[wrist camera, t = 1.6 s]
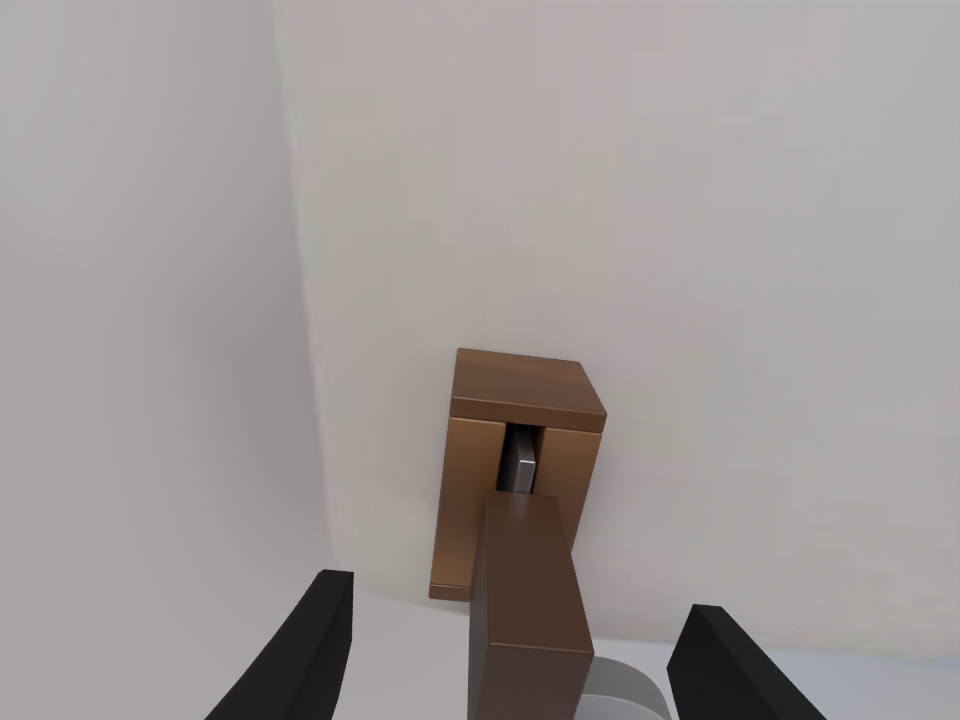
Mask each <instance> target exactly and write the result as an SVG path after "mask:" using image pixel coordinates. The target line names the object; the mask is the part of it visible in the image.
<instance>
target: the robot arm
mask: <svg viewBox="0 0 960 720" xmlns="http://www.w3.org/2000/svg"><path fill="white" fill-rule="evenodd" d="M353 580H354V572H347V571H336V570H326V569H324V570H322V571H321V572H319V573H318V574H317V576H316V578H315V579H314V581H313V582H312V584H311V585H310V587H309V588H308V590H307V591H306V593H305V594H304V595H303V597H302V598H301V600H300V601H299V603H298V604H297V605H296V607H295V608H294V610H293V611H292V612H291V614H290V615H289V616H288V618H287V619H286V620H285V622H284V623H283V624H282V626H281V627H280V628H279V630H278V631H277V633H276V634H275V635H274V636H273V638H272V639H271V640H270V641H269V643H268V644H267V645H266V646H265V648H264V649H263V650H262V651H261V653H260V654H259V655H258V657H257V658H256V659H255V660H254V662H253V663H252V664H251V665H250V666H249V668H248V669H247V670H246V672H245V673H244V674H243V675H242V676H241V678H240V679H239V680H238V681H237V683H236V684H235V685H234V686H233V687H232V688H231V689H230V691H229V692H228V693H227V694H226V695H225V696H224V697H223V699H222V700H221V701H220V702H219V703H218V705H217V706H216V707H215V708H214V709H213V710H212V711H211V712H210V714H209V715H208V716H207V717H206V718H205V719H204V720H331V719H332V716H333V713H334V710H335V707H336V704H337V701H338V697H339V693H340V689H341V685H342V681H343V676H344V672H345V668H346V664H347V659H348V655H349V651H350V646H351V642H352V616H353V615H352V614H353ZM667 672H668V676H669V681H670V685H671V689H672V693H673V697H674V701H675V705H676V708H677V712H678V716H679V719H680V720H827V719H826V718H825V717H824V716H823V715H822V714H821V713H820V712H819V711H818V710H817V709H816V708H815V707H814V706H813V705H812V703H811V702H810V701H808V699H807V698H806V697H805V696H804V695H803V694H802V693H801V692H800V691H799V690H798V689H797V688H796V686H795V685H794V684H793V683H792V682H791V681H790V680H789V679H788V678H787V677H786V676H785V675H784V674H783V672H782V671H781V670H780V669H779V668H778V667H777V666H776V665H775V664H774V663H773V662H772V661H771V659H770V658H769V657H768V656H767V655H766V654H765V653H764V652H763V651H762V650H761V649H760V647H759V646H758V645H757V644H756V643H755V642H754V641H753V640H752V639H751V638H750V637H749V636H748V634H747V633H746V632H745V631H744V630H743V629H742V628H741V627H740V626H739V625H738V624H737V623H736V622H735V620H734V619H733V618H732V617H731V616H730V615H729V614H728V613H727V612H726V611H725V610H724V609H723V608H722V607H720V606H710V605H699V604H693V606H692V609H691V611H690V613H689V616H688V618H687V620H686V623H685V625H684V628H683V630H682V632H681V635H680V637H679V639H678V642H677V644H676V647H675V649H674V651H673V654H672V656H671V659H670V661H669V663H668V666H667Z"/></svg>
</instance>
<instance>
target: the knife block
mask: <svg viewBox="0 0 960 720" xmlns="http://www.w3.org/2000/svg"><path fill="white" fill-rule="evenodd" d="M606 418H607V412H606V411H605V409H604V407H603V405H602V403H601V401H600V399H599V397H598V396H597V394H596V392H595V390H594V388H593V386H592V384H591V382H590V380H589V379H588V377H587V375H586V373H585V371H584V369H583V367H582V365H581V364H580V363H579V362H574V361H565V360H557V359H548V358H540V357H531V356H523V355H515V354H506V353H498V352H489V351H481V350H472V349H464V348H458V350H457V357H456V365H455V373H454V380H453V388H452V395H451V404H450V412H449V421H448V430H447V439H446V447H445V456H444V465H443V474H442V483H441V491H440V500H439V509H438V518H437V526H436V535H435V544H434V553H433V561H432V570H431V579H430V588H429V598H430V599H440V600H451V601H462V602H470V588H471V579H472V572H473V566H474V560H475V554H476V547H477V541H478V535H479V529H480V522H481V516H482V510H483V503H484V497H485V491H486V490H496V485H497V479H498V473H499V467H500V461H501V455H502V449H503V443H504V437H505V432H506V426H507V424H506V422H508V423H517V424H526V425H528V426H529V431H530V436H531V442H532V447H533V452H534V457H535V462H536V463H535V468H534V473H533V478H532V483H531V488H530V493H529V494H536V495H545V496H555V497H557V498H558V502H559V506H560V510H561V515H562V519H563V523H564V527H565V531H566V536H567V540H568V544H569V548H570V552H572V548H573V544H574V540H575V537H576V533H577V529H578V525H579V521H580V518H581V514H582V510H583V506H584V502H585V498H586V495H587V491H588V487H589V483H590V479H591V476H592V472H593V468H594V464H595V460H596V457H597V453H598V449H599V445H600V441H601V438H602V432H603V429H604V425H605V422H606Z"/></svg>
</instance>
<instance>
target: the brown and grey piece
mask: <svg viewBox="0 0 960 720" xmlns="http://www.w3.org/2000/svg"><path fill="white" fill-rule="evenodd" d="M506 424H507V426H506V432H505V437H504V443H503V449H502V455H501V461H500V467H499V473H498V479H497V485H496V490H486V491H485V497H484V503H483V510H482V516H481V522H480V529H479V535H478V541H477V547H476V554H475V560H474V566H473V572H472V579H471V588H470V629H469V630H470V631H469V670H468V672H469V673H468V713H467V720H573V718H574V715H575V712H576V709H577V706H578V703H579V700H580V697H581V694H582V691H583V687H584V684H585V681H586V678H587V675H588V672H589V669H590V666H591V663H592V660H593V656H594V649H593V644H592V640H591V636H590V632H589V628H588V623H587V619H586V615H585V611H584V607H583V603H582V598H581V594H580V590H579V586H578V582H577V577H576V573H575V569H574V565H573V561H572V556H571V552H570V548H569V544H568V540H567V536H566V531H565V527H564V523H563V519H562V515H561V510H560V506H559V502H558V498H557V497H555V496H545V495H536V494H529V493H530V488H531V483H532V478H533V473H534V468H535V463H536V462H535V457H534V452H533V447H532V442H531V436H530V431H529V426H528V425H526V424H517V423H508V422H506Z"/></svg>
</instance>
